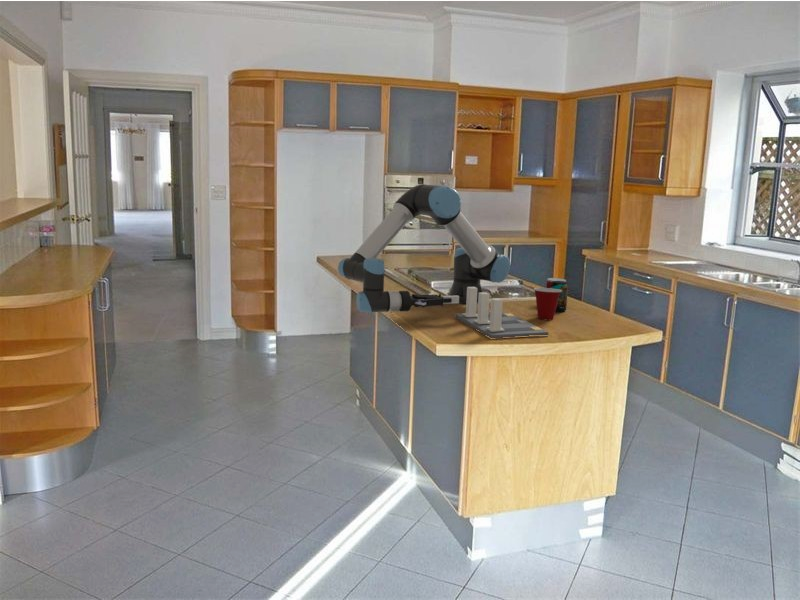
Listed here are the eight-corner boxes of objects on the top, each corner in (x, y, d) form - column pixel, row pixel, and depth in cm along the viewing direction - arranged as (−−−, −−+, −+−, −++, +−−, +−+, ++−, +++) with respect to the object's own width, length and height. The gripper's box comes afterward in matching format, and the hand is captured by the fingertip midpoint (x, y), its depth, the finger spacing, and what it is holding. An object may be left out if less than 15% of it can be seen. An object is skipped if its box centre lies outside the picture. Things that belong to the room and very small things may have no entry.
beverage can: (566, 313, 287) (568, 284, 285) (548, 311, 289) (551, 283, 286) (565, 309, 294) (567, 281, 292) (548, 308, 295) (550, 280, 293)
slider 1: (462, 314, 270) (463, 286, 268) (474, 314, 272) (476, 286, 269) (466, 317, 266) (468, 288, 264) (479, 316, 268) (480, 288, 265)
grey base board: (455, 317, 273) (455, 313, 273) (507, 315, 280) (507, 311, 279) (491, 339, 242) (491, 334, 242) (548, 336, 249) (548, 331, 249)
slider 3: (486, 328, 250) (487, 298, 247) (499, 328, 251) (500, 297, 249) (491, 331, 246) (493, 300, 243) (504, 331, 247) (506, 300, 245)
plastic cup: (559, 316, 281) (561, 286, 278) (559, 322, 270) (562, 291, 268) (531, 314, 283) (534, 285, 280) (531, 320, 272) (533, 289, 270)
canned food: (564, 307, 299) (566, 281, 296) (545, 305, 300) (547, 280, 298) (564, 303, 306) (566, 278, 304) (545, 302, 308) (547, 277, 305)
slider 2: (473, 321, 260) (475, 292, 258) (486, 320, 261) (487, 291, 259) (478, 324, 256) (480, 294, 254) (491, 323, 257) (492, 294, 255)
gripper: (393, 307, 266) (451, 305, 273) (403, 315, 254) (464, 312, 261) (393, 287, 264) (452, 286, 271) (404, 294, 252) (465, 292, 259)
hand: (458, 299), depth 266 cm, fingers closed
